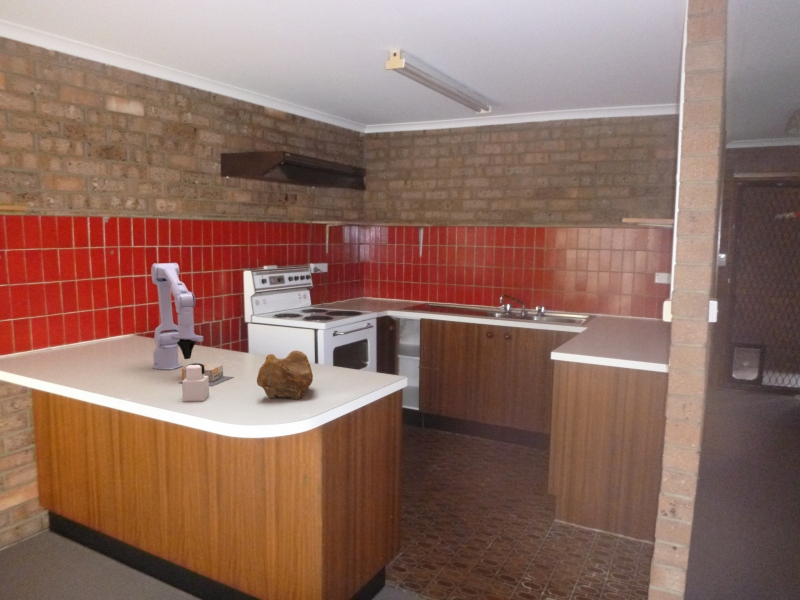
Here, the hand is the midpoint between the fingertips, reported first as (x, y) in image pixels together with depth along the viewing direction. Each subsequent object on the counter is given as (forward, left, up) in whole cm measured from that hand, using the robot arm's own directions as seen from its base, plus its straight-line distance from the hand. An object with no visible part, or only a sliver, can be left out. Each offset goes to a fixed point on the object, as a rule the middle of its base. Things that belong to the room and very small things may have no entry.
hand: (187, 358), depth 227 cm
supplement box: (-1, 0, -5) cm, 5 cm away
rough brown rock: (+49, -8, -8) cm, 51 cm away
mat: (+8, 0, -8) cm, 12 cm away
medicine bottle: (+20, -22, -8) cm, 31 cm away
